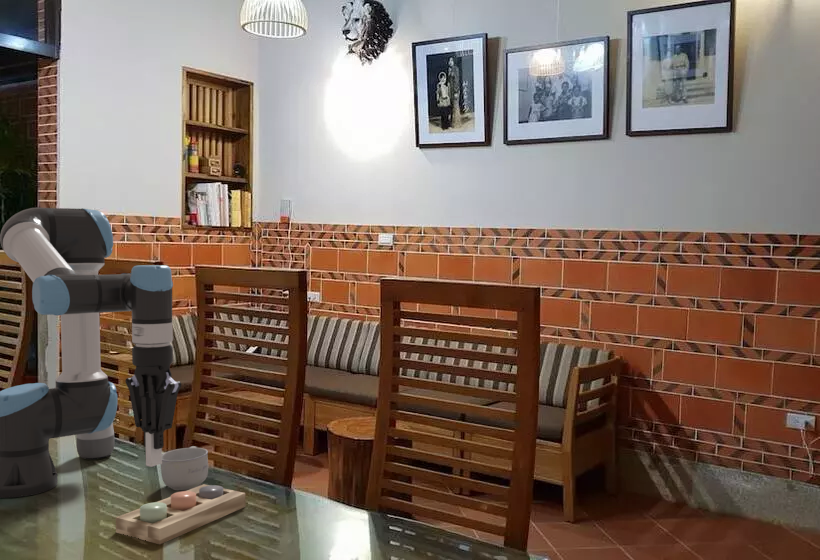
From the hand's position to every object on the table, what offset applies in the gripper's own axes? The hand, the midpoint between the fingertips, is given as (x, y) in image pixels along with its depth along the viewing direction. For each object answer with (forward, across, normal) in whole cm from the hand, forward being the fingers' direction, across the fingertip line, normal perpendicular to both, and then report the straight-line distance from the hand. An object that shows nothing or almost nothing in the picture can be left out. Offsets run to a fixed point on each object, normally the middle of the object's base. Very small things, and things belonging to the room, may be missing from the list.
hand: (154, 464), depth 150 cm
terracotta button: (+11, 0, +8) cm, 14 cm away
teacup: (+13, -16, +25) cm, 33 cm away
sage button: (+11, 0, 0) cm, 11 cm away
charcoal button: (+12, 0, +16) cm, 20 cm away
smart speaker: (+13, -54, +30) cm, 64 cm away
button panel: (+13, 0, +8) cm, 16 cm away
